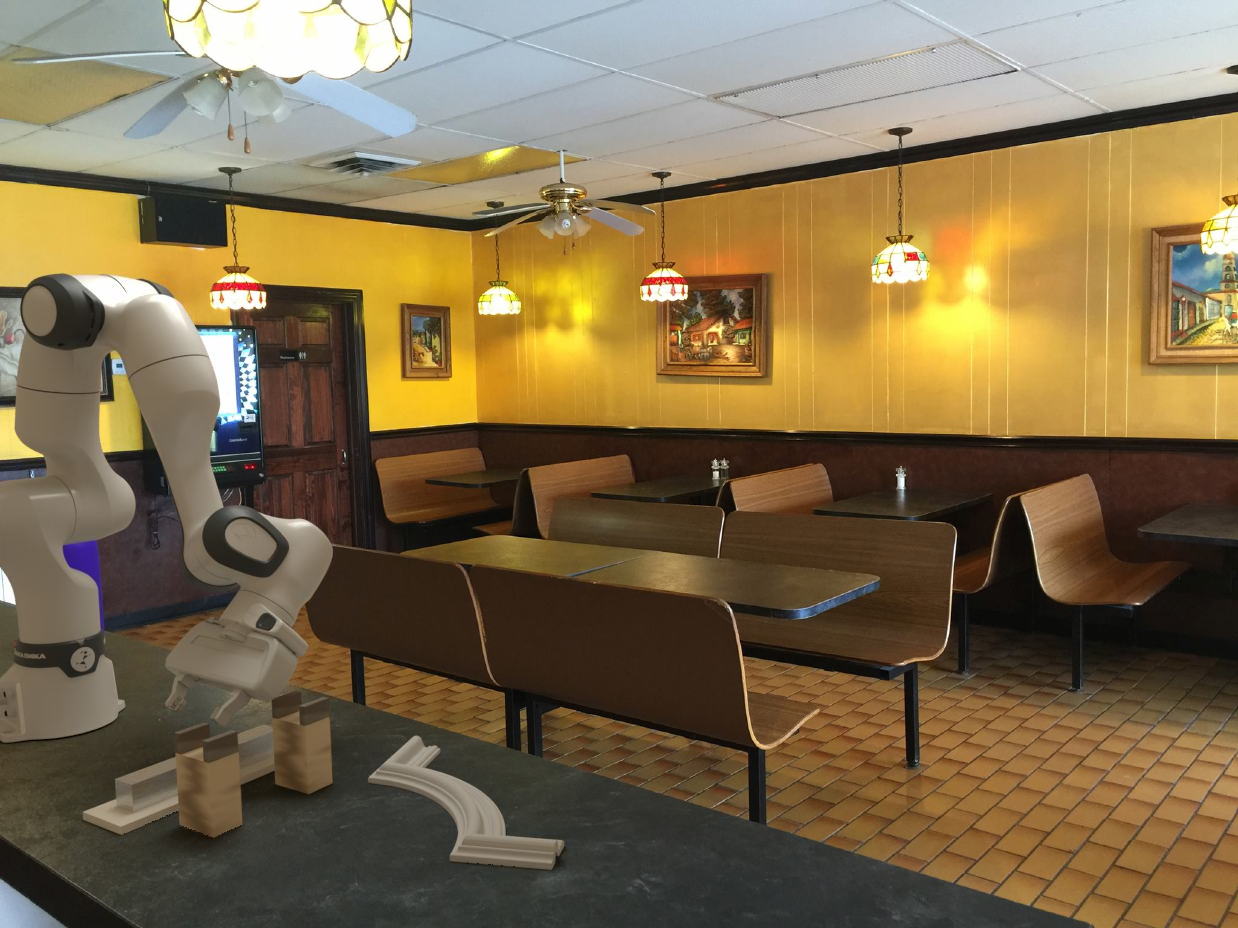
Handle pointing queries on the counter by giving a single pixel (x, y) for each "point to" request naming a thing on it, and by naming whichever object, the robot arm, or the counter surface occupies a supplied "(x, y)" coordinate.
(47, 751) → the counter surface
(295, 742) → the post far
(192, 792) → the post near
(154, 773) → the rail
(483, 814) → the molding
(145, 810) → the plank
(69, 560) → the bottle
